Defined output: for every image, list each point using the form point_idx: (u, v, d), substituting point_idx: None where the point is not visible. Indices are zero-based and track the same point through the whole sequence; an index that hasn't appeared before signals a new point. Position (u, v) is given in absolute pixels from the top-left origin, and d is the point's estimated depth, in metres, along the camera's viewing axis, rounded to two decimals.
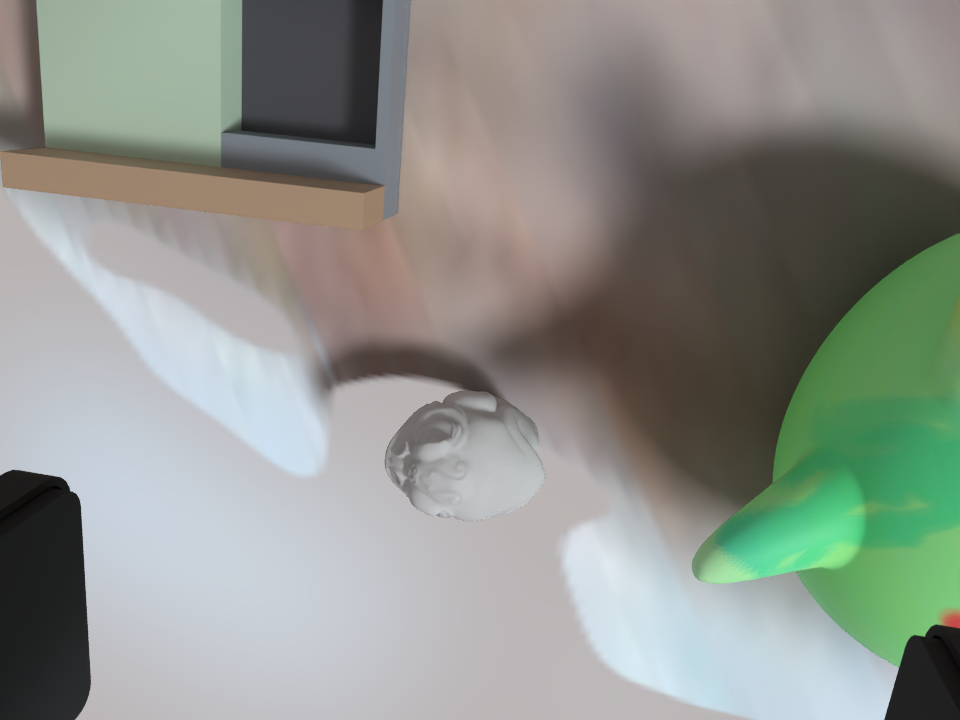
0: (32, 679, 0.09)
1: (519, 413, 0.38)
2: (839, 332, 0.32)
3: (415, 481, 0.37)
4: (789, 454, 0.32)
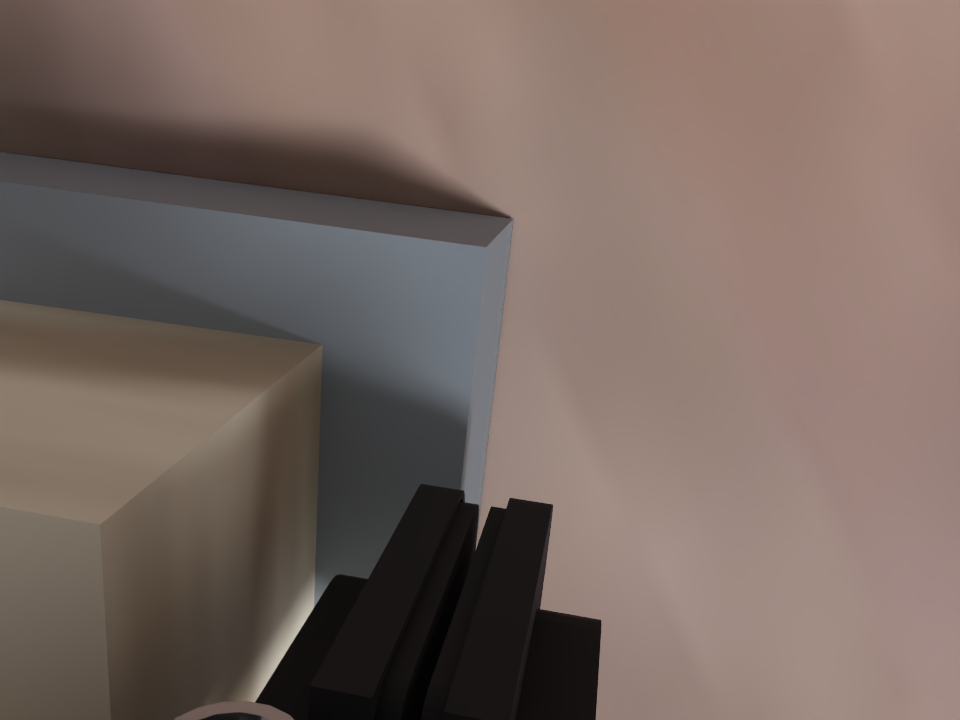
0: None
1: None
2: None
3: None
4: None
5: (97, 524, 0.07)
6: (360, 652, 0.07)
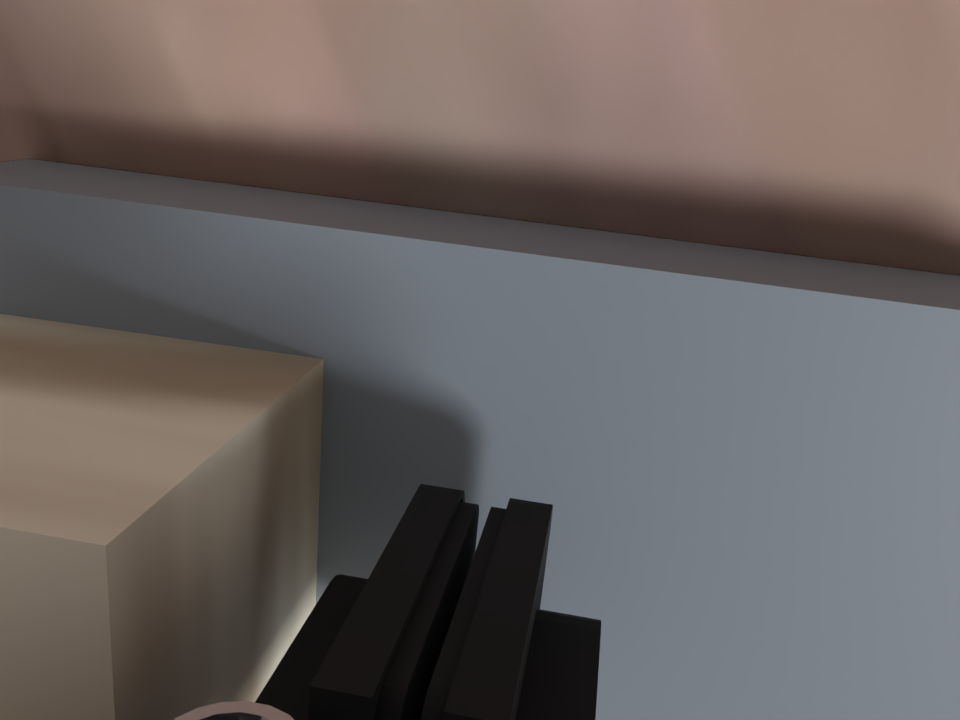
0: None
1: None
2: None
3: None
4: None
5: (102, 545, 0.07)
6: (360, 653, 0.07)
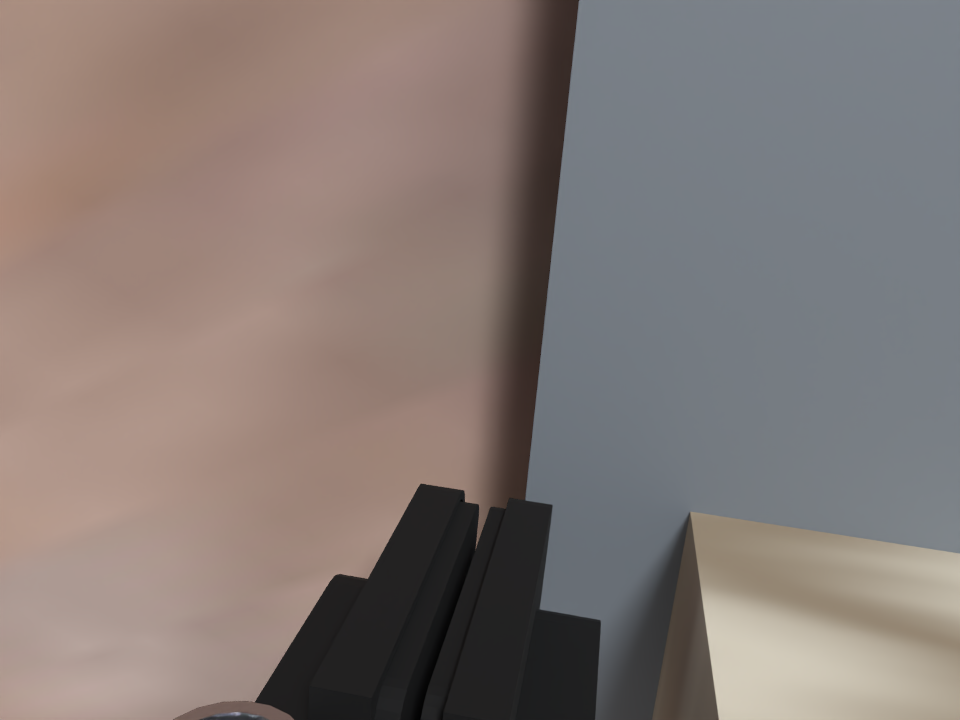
0: None
1: None
2: None
3: None
4: None
5: None
6: (360, 652, 0.07)
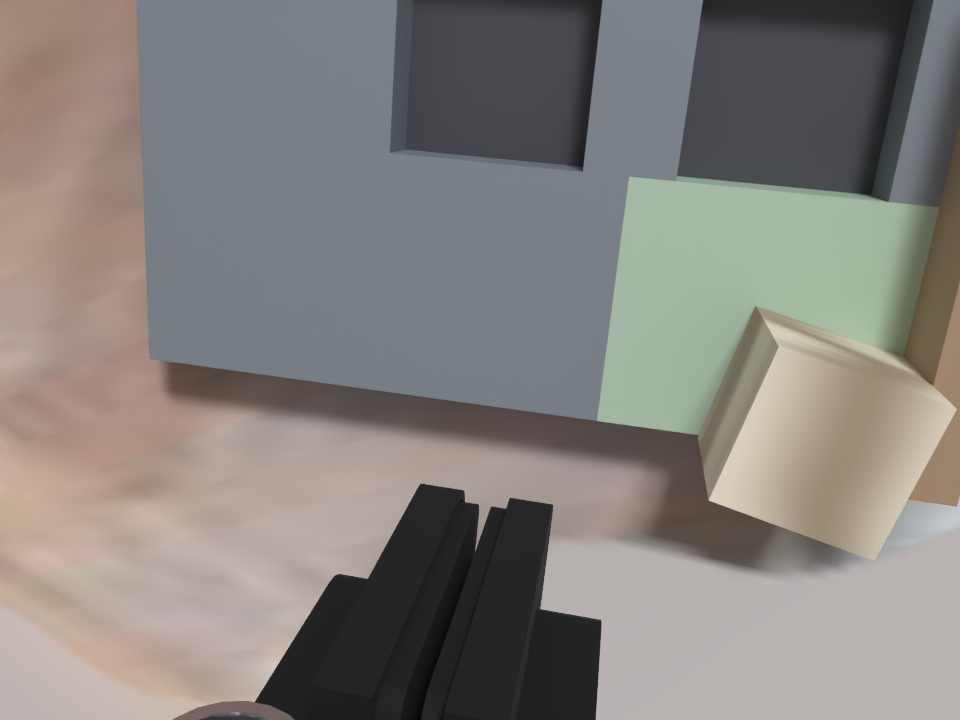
0: None
1: None
2: None
3: None
4: None
5: (779, 347, 0.24)
6: (360, 653, 0.07)
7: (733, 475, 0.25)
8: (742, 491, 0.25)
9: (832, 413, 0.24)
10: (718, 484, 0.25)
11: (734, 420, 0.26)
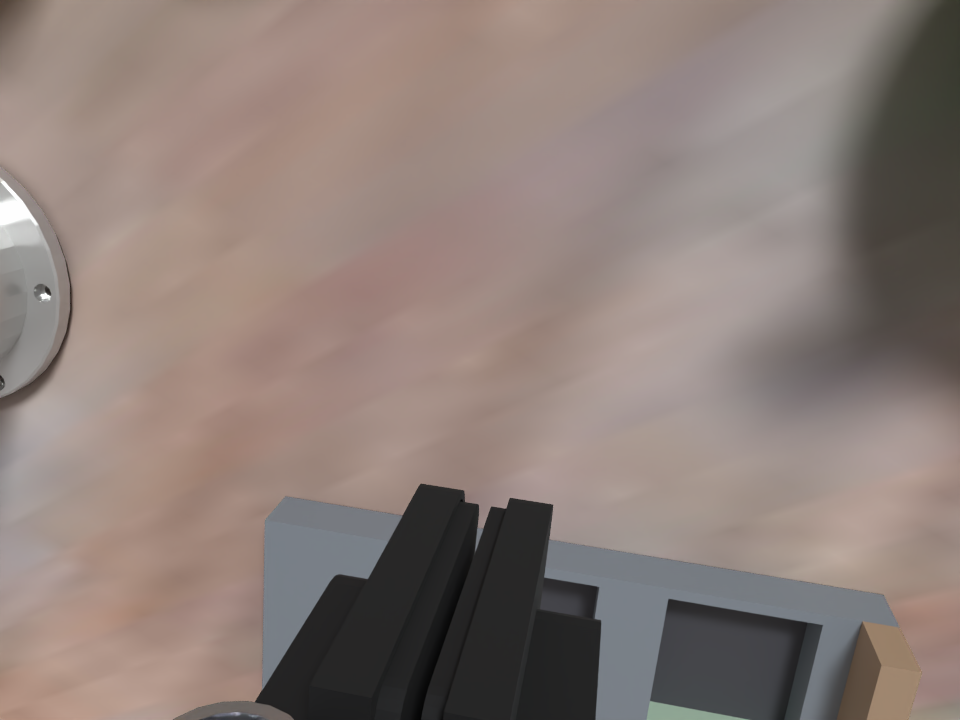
0: None
1: None
2: None
3: None
4: None
5: None
6: (360, 652, 0.07)
7: None
8: None
9: None
10: None
11: None
